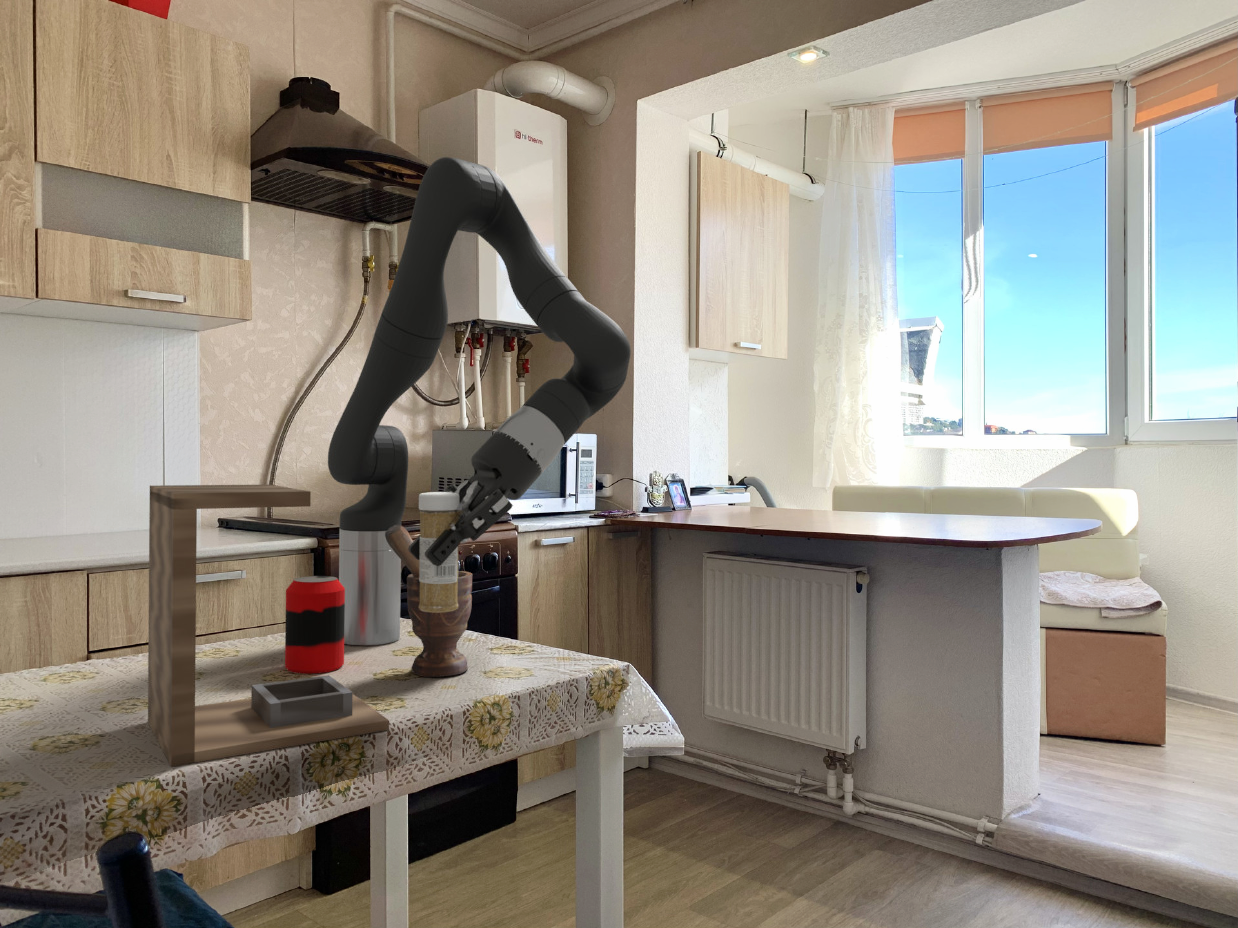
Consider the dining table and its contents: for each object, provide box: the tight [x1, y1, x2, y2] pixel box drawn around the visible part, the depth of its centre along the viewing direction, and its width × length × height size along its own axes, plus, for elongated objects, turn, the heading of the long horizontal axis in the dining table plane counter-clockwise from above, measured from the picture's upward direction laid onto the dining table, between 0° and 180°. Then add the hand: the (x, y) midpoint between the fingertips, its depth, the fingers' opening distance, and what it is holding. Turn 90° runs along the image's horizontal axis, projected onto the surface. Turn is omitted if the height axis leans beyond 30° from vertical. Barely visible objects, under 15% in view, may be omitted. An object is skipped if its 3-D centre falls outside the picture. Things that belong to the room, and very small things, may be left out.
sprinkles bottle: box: [418, 491, 460, 613], centre depth 103 cm, size 5×5×14 cm
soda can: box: [284, 575, 345, 675], centre depth 122 cm, size 8×8×12 cm
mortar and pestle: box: [385, 524, 473, 678], centre depth 120 cm, size 12×9×20 cm
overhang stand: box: [147, 484, 390, 767], centre depth 96 cm, size 16×21×26 cm
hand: (422, 557), depth 102 cm, fingers closed on sprinkles bottle, 4 cm apart
